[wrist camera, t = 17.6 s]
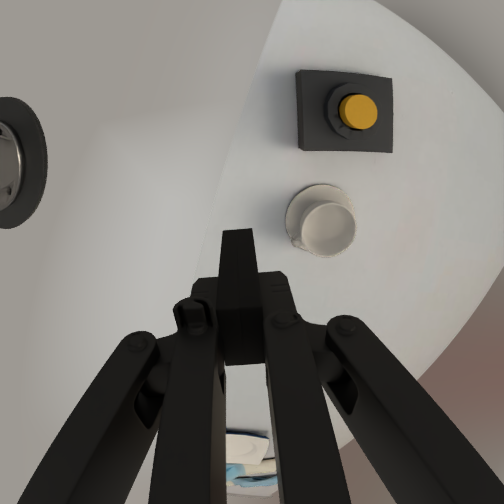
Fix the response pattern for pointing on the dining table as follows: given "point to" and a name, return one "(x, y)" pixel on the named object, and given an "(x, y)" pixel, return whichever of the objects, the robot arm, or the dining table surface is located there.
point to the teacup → (321, 221)
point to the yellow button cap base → (328, 118)
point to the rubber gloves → (246, 469)
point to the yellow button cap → (358, 111)
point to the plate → (245, 448)
